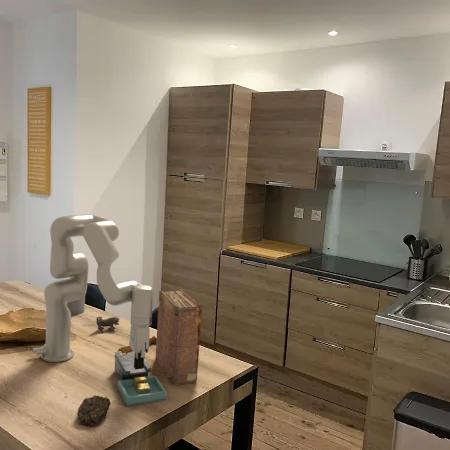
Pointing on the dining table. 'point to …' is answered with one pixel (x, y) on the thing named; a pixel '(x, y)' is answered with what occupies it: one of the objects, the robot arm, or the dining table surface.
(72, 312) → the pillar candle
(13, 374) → the dining table surface
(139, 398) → the tray
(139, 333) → the robot arm
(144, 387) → the tan wooden cube
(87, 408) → the dark brown rock
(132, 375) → the grey block holder
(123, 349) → the primitive tool
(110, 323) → the dog figurine
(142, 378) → the tan wooden block
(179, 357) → the book
